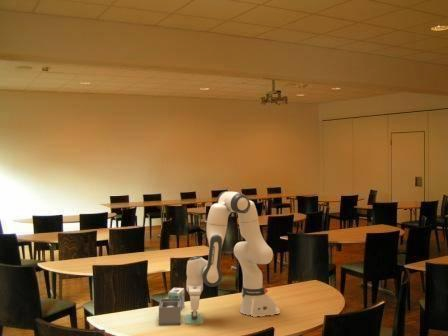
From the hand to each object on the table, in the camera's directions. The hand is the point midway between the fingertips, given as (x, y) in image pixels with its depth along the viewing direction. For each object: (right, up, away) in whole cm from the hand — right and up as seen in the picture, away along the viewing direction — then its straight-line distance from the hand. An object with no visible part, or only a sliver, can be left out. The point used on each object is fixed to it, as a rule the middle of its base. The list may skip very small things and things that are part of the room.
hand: (194, 312), depth 244 cm
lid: (0, -4, 0) cm, 4 cm away
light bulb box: (-12, -4, +18) cm, 22 cm away
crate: (-13, -4, -1) cm, 13 cm away
